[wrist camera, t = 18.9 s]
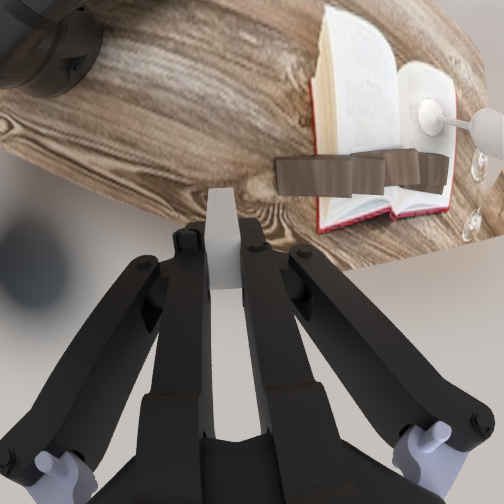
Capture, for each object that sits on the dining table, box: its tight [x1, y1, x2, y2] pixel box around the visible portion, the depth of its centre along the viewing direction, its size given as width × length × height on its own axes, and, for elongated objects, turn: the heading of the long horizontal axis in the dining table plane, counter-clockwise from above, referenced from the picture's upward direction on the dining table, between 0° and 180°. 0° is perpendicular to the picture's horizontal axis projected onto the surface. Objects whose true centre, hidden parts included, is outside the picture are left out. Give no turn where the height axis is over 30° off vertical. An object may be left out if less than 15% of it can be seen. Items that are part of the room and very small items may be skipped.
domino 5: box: [399, 185, 444, 195], centre depth 39 cm, size 2×5×10 cm
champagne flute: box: [418, 99, 504, 160], centre depth 23 cm, size 7×7×24 cm
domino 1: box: [276, 157, 352, 198], centre depth 35 cm, size 2×5×10 cm
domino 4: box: [411, 152, 449, 185], centre depth 36 cm, size 2×5×10 cm
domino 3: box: [352, 148, 420, 187], centre depth 35 cm, size 2×5×10 cm
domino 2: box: [314, 155, 386, 195], centre depth 35 cm, size 2×5×10 cm
